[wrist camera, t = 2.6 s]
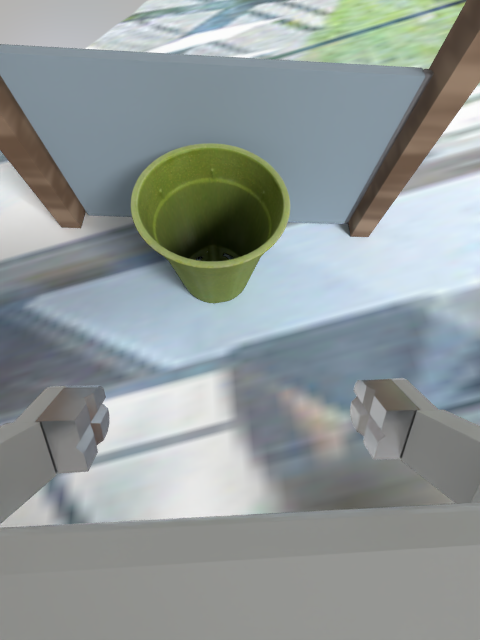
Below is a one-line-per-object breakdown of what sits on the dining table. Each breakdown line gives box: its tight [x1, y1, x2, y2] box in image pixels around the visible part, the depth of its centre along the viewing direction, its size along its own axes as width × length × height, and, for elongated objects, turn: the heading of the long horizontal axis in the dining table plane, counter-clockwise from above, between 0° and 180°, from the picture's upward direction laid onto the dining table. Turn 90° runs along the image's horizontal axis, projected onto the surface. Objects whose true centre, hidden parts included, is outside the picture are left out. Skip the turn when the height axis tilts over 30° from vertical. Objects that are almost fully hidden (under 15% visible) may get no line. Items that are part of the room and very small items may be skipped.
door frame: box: [0, 0, 480, 237], centre depth 23 cm, size 3×36×24 cm, turn 90°
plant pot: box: [131, 143, 290, 303], centre depth 26 cm, size 12×12×11 cm
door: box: [0, 44, 434, 224], centre depth 27 cm, size 3×30×15 cm, turn 90°
